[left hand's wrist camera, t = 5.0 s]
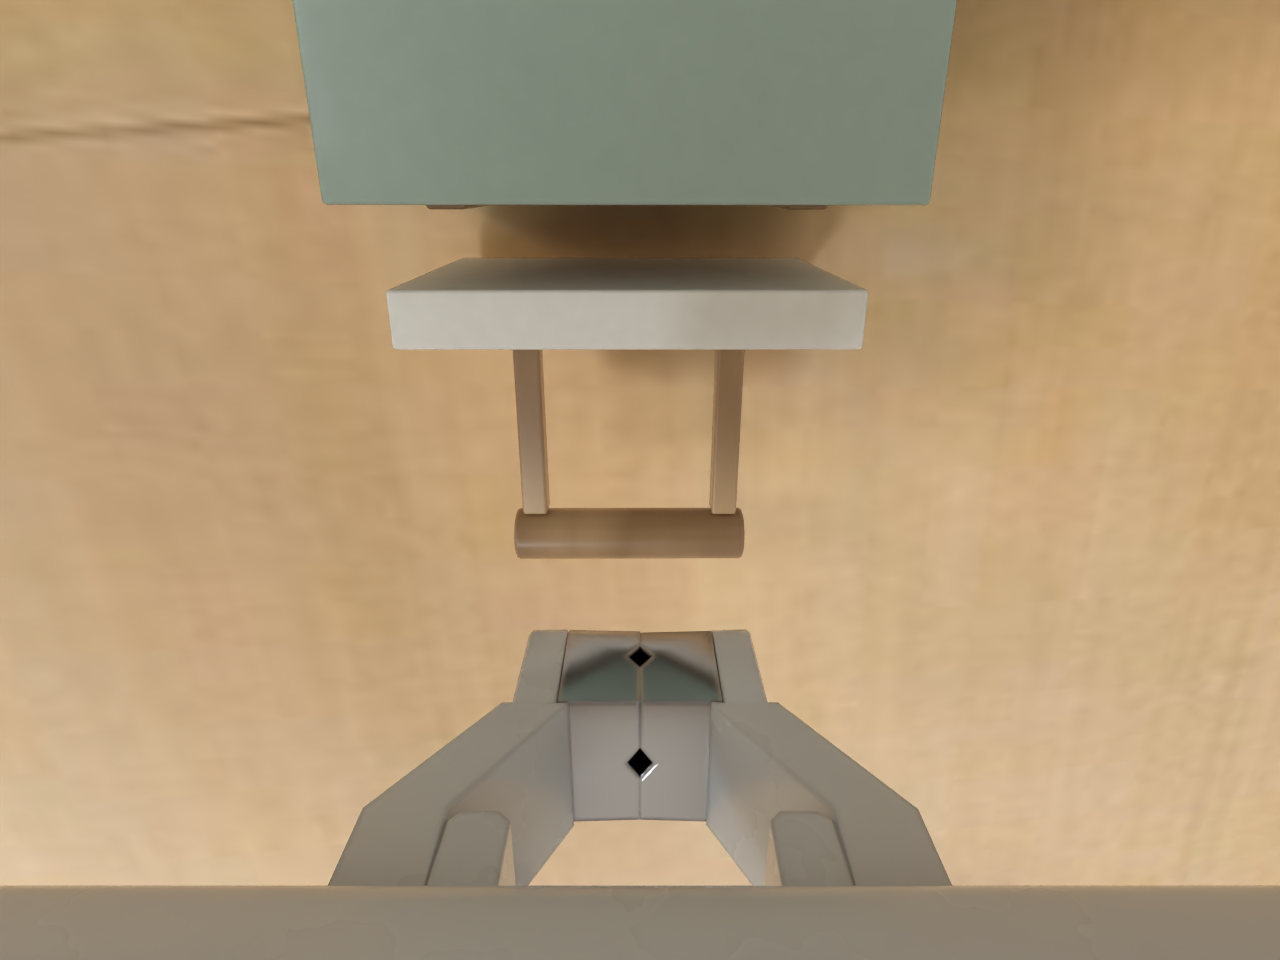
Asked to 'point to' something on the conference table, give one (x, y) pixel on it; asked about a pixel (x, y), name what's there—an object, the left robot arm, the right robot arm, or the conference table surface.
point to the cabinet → (625, 100)
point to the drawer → (628, 320)
